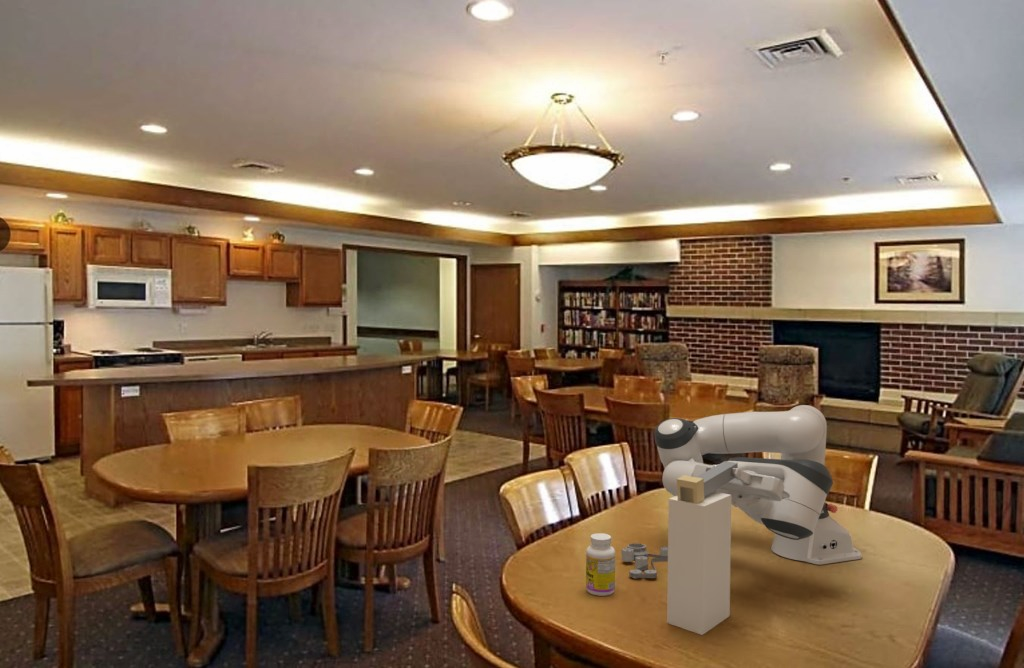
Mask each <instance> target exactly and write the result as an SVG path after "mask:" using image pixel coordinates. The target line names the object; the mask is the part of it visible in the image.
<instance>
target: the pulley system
mask: <svg viewBox="0 0 1024 668" xmlns="http://www.w3.org/2000/svg"><path fill="white" fill-rule="evenodd" d="M620 551H621V561H623V562H628V563H630V562H633V561H635V562H634V563H635V565H634V569H630V570H628V574H629V575H628V576H629V577H631V578H633V579H634V580H639V579H641V578H642V579H654V578H657V577H658V572H657V569H656V567H655V564H654V562H655V563H657V562H659V563H660V562H668V546H661V547H659V554H653V553H649V552H648V550H647V545H646V544H643V543H638V542H637V543H636V542H633V543H630V544H629V543H628V544H627V547H624V548H623V547H622V548H621V550H620ZM648 557H653V558H651V559H650V563H651V567H652V569H648V567H649V563H648V561H649V559H648ZM635 567H636V568H635ZM642 571H643V572H644V573H643V572H642Z"/></svg>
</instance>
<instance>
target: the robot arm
mask: <svg viewBox="0 0 1024 668" xmlns="http://www.w3.org/2000/svg"><path fill="white" fill-rule="evenodd" d="M827 426H828V424H827V420H826V418H825V416H824V414H823V412H822V411H820V410H819V409H818V408H817V407H814V406H811V405H806V404H800V405H796V406H794V407H792V408H791V409H790V410H783V411H745V412H734V413H733V412H732V413H723V414H722V413H721V414H716V415H710V416H705V417H702V418H701V417H700V418H698V419H696V420H693V421H692V420H688V419H684V418H679V417H670V418H667V419H664V420H662V421H661V422H659V424H657V426H656V427H655V428H654V432H653V434H654V442H655V445H656V448H657V452H658V456H659V459H660V462H661V464H662V465H663V468H664V470H663V473H662V481H661V482H662V485H663V487H664V489H665V491H666V492H667V493H669V494H671V495H672V496H673V497H675V496H677V479H678V478H680V477H681V476H683V475H686V476H692V477H697V476H699V475H701V474H703V473H705V472H706V471H708V470H710V469H712V468H713V467H715V466H717V465H719V464H720V463H719V464H707V463H704V460H703V459H704V458H703V456H704V455H706V454H707V455H708V454H715V455H716V454H718V455H721V454H722V455H724V454H727V455H729V454H732V455H733V454H745V453H746V454H748V453H772V454H773V453H774V454H780V459H777V458H763V457H762V458H761V457H748V456H747V457H744V456H742V457H741V456H738V457H736V456H735V457H730V458H728V460H726V461H728V462H734V463H738V468H732V469H731V470H732V471H731V476H732V477H734V479H733V480H731V481H729V482H728V483H726V484H724V485H723V486H721V487H720V488H718V489H716V490H715V491H714V492H719V493H725V494H730V495H731V506H734V507H736V508H738V509H739V510H741V511H742V512H744V514H745V515H746V516H748V517H749V518H750V519H752V520H753V521H755V522H756V523H759V524H762V525H763V526H764V527H765V528H766V529H768V531H771V532H772V533H774V537H773V541H772V545H771V547H770V549H771V552H773V553H775V554H776V555H778V556H781V557H783V558H786V559H790V560H795V561H801V562H805V563H810V564H813V565H817V566H818V565H827V564H833V563H839V562H840V563H841V562H848V561H855V560H861V559H862V558H863V557H862V552H861V551H860V550H858V548H855V547H854V546H853V542H852V536H851V533H850V532H849V531H848V530H847V529H846V528H845V527H844V526H843V525H841V524H840V523H839V522H838V521H837V520H836V519H834V518H833V517H832V516H831V515H830V513H832V514H836V513H837V512H838V507H837V505H834V504H832V503H829V504H828V502H826V499H827V496H828V495H829V492H830V490H831V489H832V487H833V485H834V480H833V477H832V475H831V473H830V471H829V470H828V467H827V466H826V465H825V462H826V461H825V460H826V448H827V447H826V445H827V429H828V427H827ZM829 512H830V513H829Z"/></svg>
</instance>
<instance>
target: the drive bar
mask: <svg viewBox="0 0 1024 668" xmlns="http://www.w3.org/2000/svg"><path fill="white" fill-rule="evenodd" d="M716 465H717V464H716ZM732 468H738V463H734V462H728V461H727V460H724V461H722V462H720V463H719V465H717V466H715V467H713V468H712V469H710V470H708V471H706V472H705V473H703V474H701V475H699V476H697V477H692V476H686V475H683V476H681V477H680V478H678V479H677V498H678V500H681V501H686V502H690V503H695V504H698V503H699V502H701V501H703V500H704V497H705V496H707V495H708V494H710V493H711V492H713V491H715V490H716V489H718V488H720V487H721V486H723V485H724V484H726V483H728V482H729V481H731V480H733V479H734V477H732V476H731V471H732V470H731V469H732Z"/></svg>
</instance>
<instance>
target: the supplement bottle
mask: <svg viewBox="0 0 1024 668" xmlns="http://www.w3.org/2000/svg"><path fill="white" fill-rule="evenodd" d="M590 543H591V544H590V545H589V546H588V547H587V548H586V551H585V552H586V553H585V554H586V555H585V559H586V560H585V563H586V564H585V589H586V591H587V592H588V594H591V595H593V596H596V595H597V596H598V597H604V596H605V597H606V596H610V595H611V596H612V595H613V594H614V592H615V589H616V550H615V548H614V547H613V546H612V545H611V543H612V535H609V534H607V533H603V532H601V533H600V532H599V533H597V532H596V533H592V534H591V535H590Z"/></svg>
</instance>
